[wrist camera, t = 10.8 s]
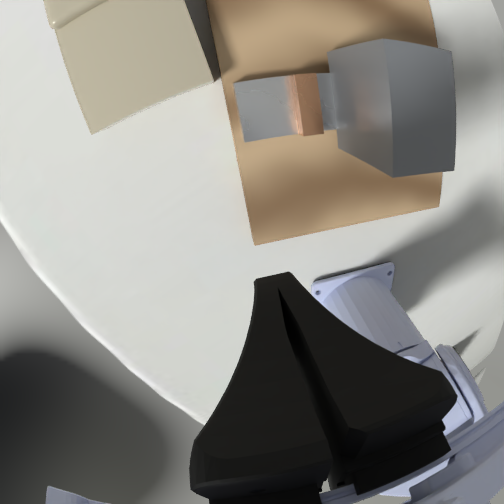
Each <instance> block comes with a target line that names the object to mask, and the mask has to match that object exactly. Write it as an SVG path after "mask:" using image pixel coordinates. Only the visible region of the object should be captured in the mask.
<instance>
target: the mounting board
mask: <svg viewBox="0 0 504 504" xmlns="http://www.w3.org/2000/svg"><path fill="white" fill-rule="evenodd" d="M206 4H207V9H208V14H209V19H210V24H211V29H212V34H213V39H214V44H215V49H216V54H217V59H218V64H219V69H220V74H221V79H222V84H223V89H224V94H225V99H226V105H227V110H228V115H229V120H230V125H231V130H232V135H233V140H234V145H235V150H236V155H237V161H238V166H239V171H240V176H241V181H242V186H243V191H244V196H245V202H246V207H247V212H248V217H249V222H250V227H251V232H252V238H253V242H254V245H260V244H265V243H269V242H274V241H279V240H283V239H288V238H293V237H297V236H302V235H307V234H311V233H316V232H321V231H326V230H330V229H335V228H340V227H345V226H349V225H354V224H359V223H364V222H368V221H373V220H378V219H383V218H387V217H392V216H397V215H402V214H407V213H412V212H416V211H421V210H426V209H431V208H436V207H439V203H440V194H441V183H442V172H437V173H428V174H420V175H411V176H404V177H396V178H392V177H390V176H389V175H387V174H385V173H383V172H382V171H380V170H378V169H376V168H375V167H373V166H371V165H369V164H367V163H366V162H364V161H362V160H360V159H358V158H356V157H354V156H353V155H351V154H349V153H347V152H345V151H343V150H341V149H339V148H338V140H337V129H335V130H326V131H324V134H319V135H311V136H302V135H299V134H294V135H287V136H281V137H274V138H268V139H262V140H257V141H251V142H246V143H245V142H244V141H243V138H242V132H241V127H240V122H239V117H238V111H237V106H236V101H235V96H234V90H233V85H232V84H233V83H237V82H243V81H249V80H256V79H263V78H271V77H280V76H290V75H294V74H307V73H316V74H317V73H330V70H329V63H328V57H327V52H329V51H332V50H336V49H340V48H343V47H347V46H351V45H355V44H360V43H364V42H368V41H373V40H378V39H391V40H398V41H404V42H410V43H416V44H421V45H426V46H431V47H435V48H438V45H437V39H436V33H435V28H434V23H433V18H432V13H431V9H430V5H429V1H428V0H206Z"/></svg>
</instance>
